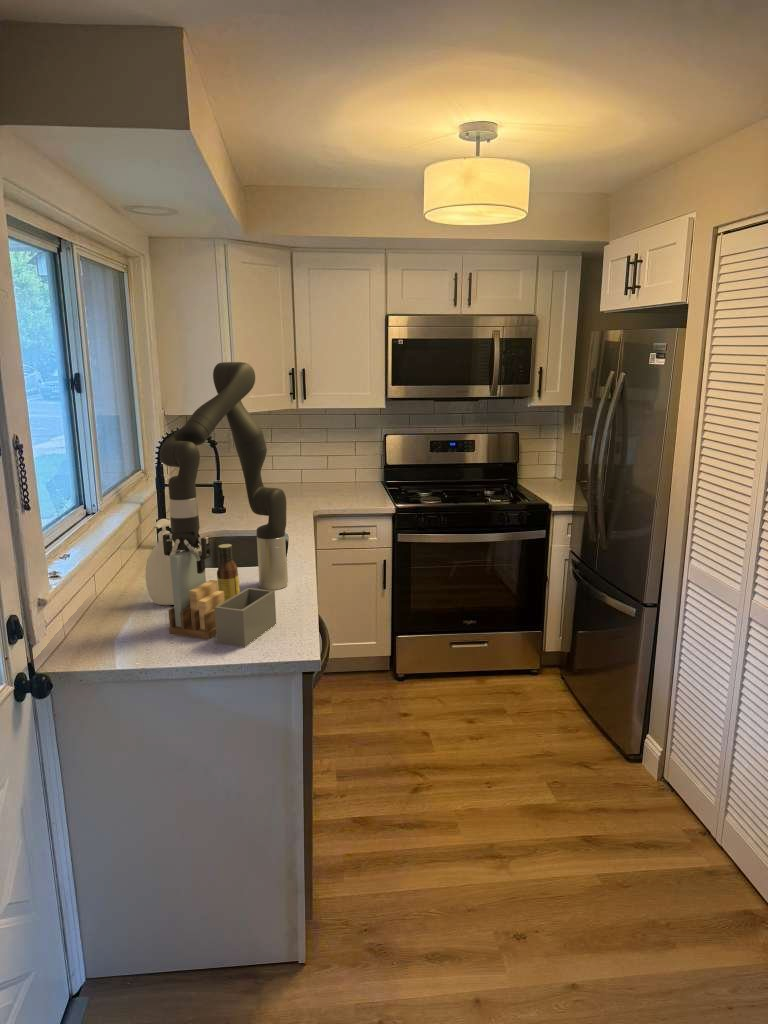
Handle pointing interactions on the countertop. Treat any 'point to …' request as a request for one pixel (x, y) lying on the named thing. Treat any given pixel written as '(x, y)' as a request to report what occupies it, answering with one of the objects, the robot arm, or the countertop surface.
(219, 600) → the beech offcut
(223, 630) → the bin
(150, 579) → the soap bottle
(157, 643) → the countertop surface
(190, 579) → the tall sheet
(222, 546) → the sauce bottle
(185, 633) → the rack
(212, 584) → the oak offcut
